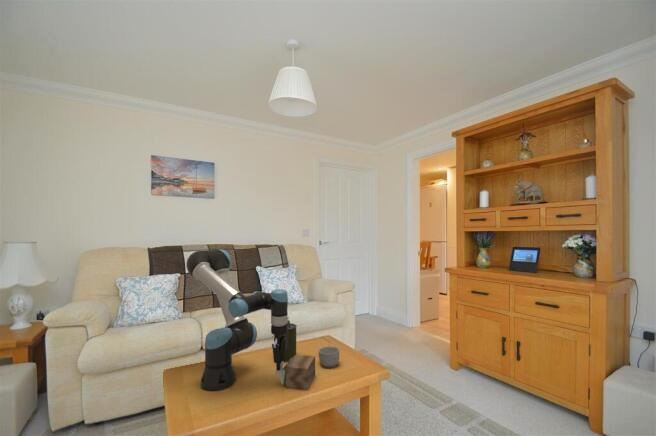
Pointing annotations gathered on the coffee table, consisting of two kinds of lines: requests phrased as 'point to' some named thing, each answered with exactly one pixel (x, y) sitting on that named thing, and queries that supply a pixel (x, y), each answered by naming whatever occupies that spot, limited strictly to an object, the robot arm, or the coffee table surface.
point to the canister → (290, 342)
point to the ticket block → (300, 372)
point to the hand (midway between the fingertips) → (279, 376)
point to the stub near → (284, 375)
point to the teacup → (329, 356)
